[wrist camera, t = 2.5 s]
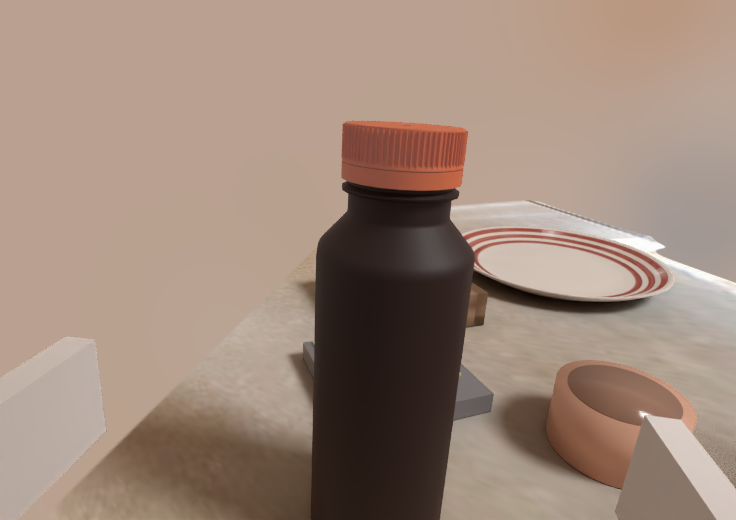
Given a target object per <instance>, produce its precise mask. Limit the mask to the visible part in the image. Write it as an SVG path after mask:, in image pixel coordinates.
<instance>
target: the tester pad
mask: <svg viewBox="0 0 736 520" xmlns="http://www.w3.org/2000/svg"><path fill="white" fill-rule="evenodd" d="M314 345H315V341H312V342H305V343H303V359H304V361H305V363H306V365H307V367H308V369H309V371H310V373H311V375H312V377H313V379H314ZM493 395H494V394H493V393H492V392H491V391H490V390H489V389H488V388H487V387H486V386H485V385H484V384H483V383H482V382H480V381H479V380H478V379H477V378H476V377H475V376H474V375H473V374H472V373H471V372H470V371H469V370H467V369H466V368H465V367H464V366H463V365H462V364H461V366H460V373H459V381H458V388H457V395H456V403H455V410H454V418H453V420H457V419H461V418H465V417H469V416H473V415H478V414H482V413H486V412H490V411H491V407H492V401H493Z"/></svg>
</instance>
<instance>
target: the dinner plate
mask: <svg viewBox="0 0 736 520" xmlns="http://www.w3.org/2000/svg"><path fill="white" fill-rule="evenodd" d="M462 236H463V237H464V238H465V240H466V241H467V242H468V244H469V245H470V246H471V248H472V249H473V251H474V255H475V263H474V271H477V272H479V273H481V274H483V275H485V276H487V277H489V278H491V279H493V280H495V281H498V282H500V283H503V284H505V285H508V286H510V287H513V288H515V289H518V290H521V291H524V292H528V293H532V294H536V295H540V296H544V297H550V298H555V299H562V300H571V301H591V302H611V301H626V300H634V299H640V298H645V297H650V296H654V295H658V294H660V293H663V292H665V291H667V290H668V289H670V288H671V287H672V286H673V284H674V281H675V278H674V274H673V273H672V271H671V270H670V269H669V268H668V267H667V266H666V265H665V264H664V263H662V262H661V261H660V260H658V259H656V258H655V257H653V256H651V255H649V254H647V253H645V252H643V251H641V250H638V249H636V248H634V247H631V246H628V245H625V244H622V243H619V242H616V241H612V240H609V239H605V238H601V237H596V236H592V235H587V234H582V233H577V232H572V231H565V230H558V229H549V228H540V227H525V226H498V227H487V228H480V229H475V230H471V231H468V232H465V233H462Z"/></svg>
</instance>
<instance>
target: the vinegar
mask: <svg viewBox="0 0 736 520" xmlns="http://www.w3.org/2000/svg"><path fill="white" fill-rule="evenodd" d="M467 135H468V131H466V129H463V128H458V127H451V126H441V125H429V124H416V123H402V122H380V121H348V122H345V123H344V124H343V135H342V136H343V137H342V178H343V179H345V180H346V181H347V182H344V183H343V184H342V189H343V190H344V191H345V192H347V193H348V210H347V212H346V213H345V214H344V215H343V216H342V217H341V218H340V219H339V220H338V221H337V222H336V223H335V224H334V225H333V226H332V227H331V228H330V229H329V230H328V231H327V232H326V233H325V234H324V235H323V236H322V237H321V238H320V240H319V242H318V247H317V254H316V297H315V345H314V393H313V441H312V489H311V520H440V513H441V506H442V498H443V491H444V484H445V476H446V469H447V462H448V454H449V447H450V440H451V432H452V425H453V418H454V410H455V403H456V395H457V388H458V381H459V373H460V366H461V359H462V351H463V344H464V337H465V329H466V322H467V315H468V307H469V300H470V293H471V285H472V278H473V271H474V263H475V255H474V251H473V249H472V248H471V246H470V245H469V244H468V242H467V241H466V240H465V238H464V237H463V236H462V234H461V233H460V232H459V230H458V229H457V228H456V227H455V225H454V224H453V223H452V221H451V220H450V210H451V201H452V200H454V199H457V198H458V196H459V191H457V190H456V189H455V188H457V187H460V186H461V184H462V176H463V167H464V161H465V153H466V144H467Z"/></svg>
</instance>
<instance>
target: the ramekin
mask: <svg viewBox="0 0 736 520" xmlns="http://www.w3.org/2000/svg"><path fill="white" fill-rule="evenodd" d="M644 415H650V416H657V417H664V418H672V419H679V420H682V421H683V423H684V424H685V425H686V426H687V428H688V429H689V430H690V432H691V433H693V430H694V427H695V424H696V421H697V415H696V412H695V409H694V408H693V406H692V405H691V403H690V402H689V401H688V400H687V399H686V398H685V397H684V396H683V395H682V394H681V393H680V392H679V391H677V390H676V389H675V388H673V387H672V386H670V385H669V384H667V383H665V382H663V381H662V380H660V379H658V378H656V377H654V376H652V375H650V374H647V373H645V372H642V371H640V370H637V369H634V368H631V367H628V366H624V365H620V364H616V363H611V362H604V361H592V360H586V361H576V362H572V363H569V364H566V365H564V366H563V367H561V368H560V370H559V371H558V373H557V376H556V381H555V385H554V390H553V395H552V399H551V404H550V409H549V413H548V418H547V423H546V434H547V438H548V440H549V442H550V444H551V445H552V447H553V448H554V450H555V451H556V452H557V453H558V454H559V455H560V456H561V457H562V458H563V459H564V460H565V461H566V462H567V463H569V464H570V465H571V466H573V467H574V468H575V469H577V470H578V471H580V472H582V473H583V474H585V475H587V476H589V477H591V478H593V479H595V480H597V481H599V482H602V483H604V484H607V485H610V486H613V487H616V488H620V489H622V487H623V484H624V481H625V478H626V474H627V471H628V468H629V464H630V461H631V458H632V455H633V451H634V448H635V445H636V442H637V438H638V435H639V432H640V428H641V425H642V422H643V419H644Z"/></svg>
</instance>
